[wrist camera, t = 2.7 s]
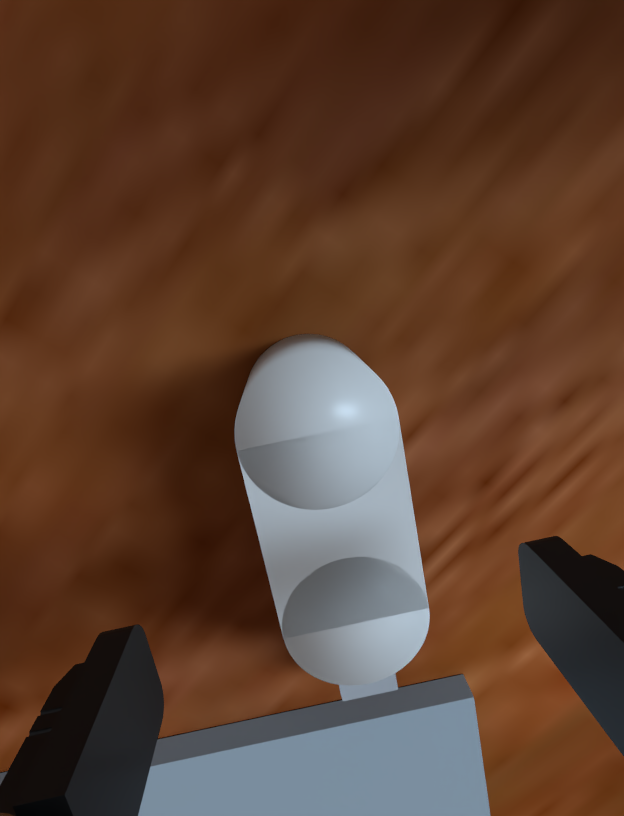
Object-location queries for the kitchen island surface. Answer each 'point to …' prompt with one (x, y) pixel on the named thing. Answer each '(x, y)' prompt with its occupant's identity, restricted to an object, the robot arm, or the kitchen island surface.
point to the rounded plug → (333, 513)
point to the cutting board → (331, 760)
